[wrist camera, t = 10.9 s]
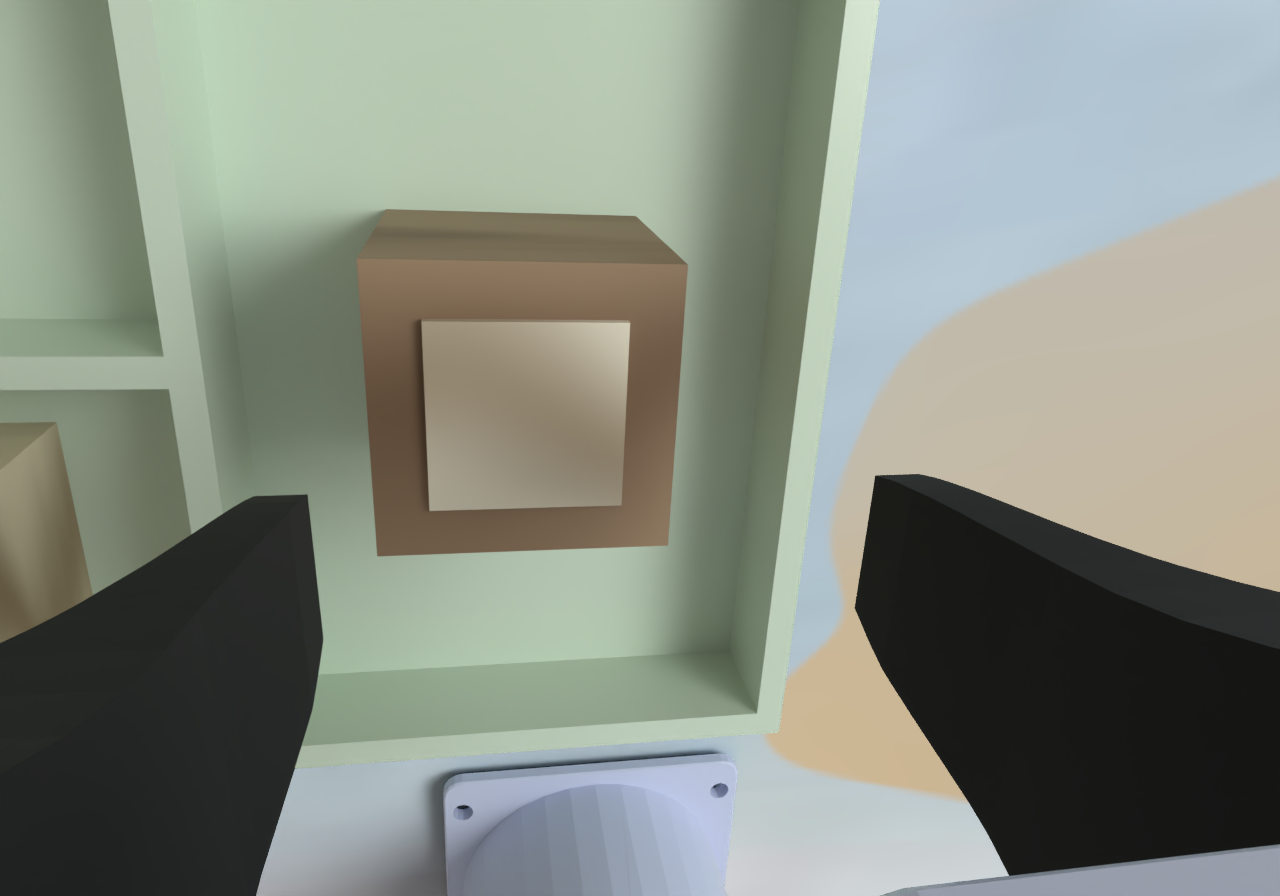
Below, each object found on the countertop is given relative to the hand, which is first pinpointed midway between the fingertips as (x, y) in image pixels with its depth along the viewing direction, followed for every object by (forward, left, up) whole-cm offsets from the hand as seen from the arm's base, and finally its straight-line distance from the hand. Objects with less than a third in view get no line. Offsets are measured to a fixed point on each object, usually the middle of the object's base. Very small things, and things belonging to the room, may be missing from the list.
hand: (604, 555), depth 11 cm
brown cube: (0, +1, -9) cm, 9 cm away
